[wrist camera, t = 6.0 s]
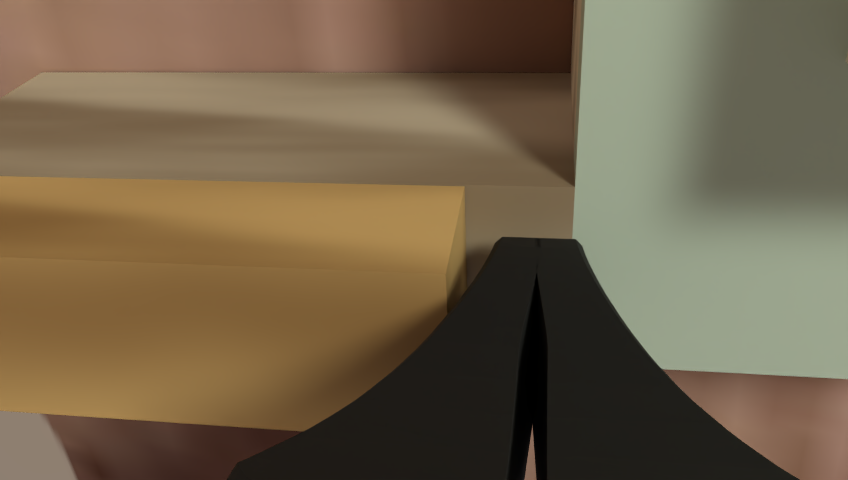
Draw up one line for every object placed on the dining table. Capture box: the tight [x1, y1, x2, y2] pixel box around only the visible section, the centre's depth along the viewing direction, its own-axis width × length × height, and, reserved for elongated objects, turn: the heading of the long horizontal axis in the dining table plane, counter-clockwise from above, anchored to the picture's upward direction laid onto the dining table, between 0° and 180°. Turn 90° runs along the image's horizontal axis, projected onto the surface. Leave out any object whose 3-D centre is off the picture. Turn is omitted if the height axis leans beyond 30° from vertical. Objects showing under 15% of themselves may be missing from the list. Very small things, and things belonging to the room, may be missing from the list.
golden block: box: [0, 176, 467, 431], centre depth 13 cm, size 3×11×2 cm, turn 93°
